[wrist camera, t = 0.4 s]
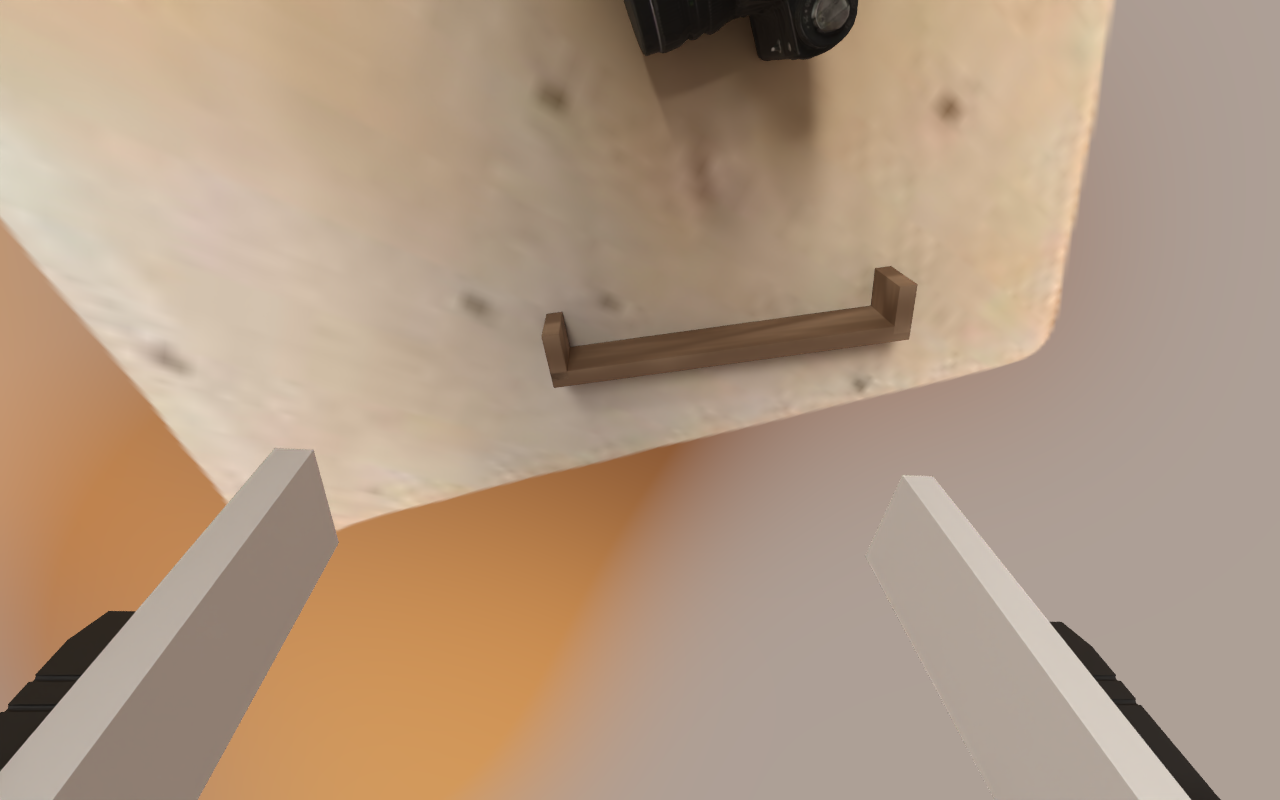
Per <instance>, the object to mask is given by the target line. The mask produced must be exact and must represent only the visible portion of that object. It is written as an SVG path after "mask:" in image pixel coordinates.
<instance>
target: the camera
mask: <svg viewBox="0 0 1280 800" xmlns="http://www.w3.org/2000/svg"><path fill="white" fill-rule="evenodd" d="M624 3H625V6H626V9H627V12H628V15H629V18H630V21H631V24H632V27H633V30H634V32H635V35H636V38H637V41H638V43H639V46H640V48H641V50H642V52H643V54H644V55H645V56H648V55H651V54H654V53H657V52H660V53H667V52H669V51H671V50H673V49H675V48H678V47H680V46H681V45H682V44H683V43H684V42H685V41H686V40H688V39H689V40H695V39H697V38H698V37H700V36H701V35H702V34H703V33H705V34H713V33H715V32H716V31H718V30H719V29H720V28H721V27H722V26H724V25H725V24H726V23H727V22H729V21H731V20H732V19H735V18H738V17H746V16H749V17H750V22H751V27H752V31H753V35H754V40H755V44H756V49H757V53H758V57H759V58H760V59H762V60H764V61H770V60H781V59H791V60H796V59H803V60H804V59H810V58H812V57H815V56H817V55H820V54H822V53H825V52H826V51H828V50H830V49H832V48H833V47H834V46H835V45H837V44H838V43H839V42H840V41H842V40H843V38H844V37H845V36H846V35H847V34H848V33H849V31H850V29H851V28H852V26H853V25H854V22H855V18H856V15H857V7H858V0H624Z"/></svg>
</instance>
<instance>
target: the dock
mask: <svg viewBox="0 0 1280 800" xmlns="http://www.w3.org/2000/svg"><path fill="white" fill-rule="evenodd" d="M916 291H917V284H916V283H915V282H913V281H912V280H910V279H909V278H907V277H906V276H904V275H903V274H902V273H900V272H899V271H897V270H896V269H894V268H893V267H891V266H890V267H883V268H875V274H874V283H873V292H872V301H871V306H866V307H858V308H851V309H844V310H837V311H829V312H822V313H815V314H807V315H800V316H793V317H786V318H778V319H771V320H764V321H757V322H749V323H742V324H735V325H727V326H720V327H713V328H706V329H698V330H691V331H684V332H677V333H669V334H662V335H655V336H647V337H640V338H633V339H626V340H618V341H611V342H604V343H597V344H589V345H582V346H575V347H570V346H569V341H568V336H567V332H566V327H565V322H564V318H563V313H562V312H558V313H551V314H547V315H546V319H545V323H544V328H543V332H542V341H543V345H544V349H545V353H546V357H547V361H548V365H549V369H550V374H551V378H552V382H553V386H554V388H556V387H564V386H571V385H578V384H586V383H593V382H600V381H608V380H615V379H622V378H630V377H637V376H644V375H652V374H659V373H666V372H674V371H681V370H688V369H696V368H703V367H710V366H718V365H725V364H732V363H740V362H747V361H754V360H762V359H769V358H776V357H784V356H791V355H798V354H806V353H813V352H820V351H828V350H835V349H842V348H850V347H857V346H864V345H872V344H879V343H886V342H894V341H901V340H908V339H909V336H910V329H911V323H912V316H913V310H914V304H915V297H916Z"/></svg>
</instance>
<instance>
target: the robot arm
mask: <svg viewBox="0 0 1280 800" xmlns="http://www.w3.org/2000/svg"><path fill="white" fill-rule="evenodd" d="M338 543H339V542H338V538H337V535H336V531H335V527H334V523H333V520H332V516H331V512H330V509H329V505H328V501H327V498H326V494H325V490H324V487H323V483H322V479H321V476H320V472H319V468H318V464H317V461H316V457H315V453H314V450H306V449H283V448H274V450H273V451H272V452H271V453H270V454H269V455H268V457H267V458H266V459H265V460H264V461H263V463H262V464H261V465H260V466H259V467H258V468H257V470H256V471H255V472H254V473H253V474H252V475H251V477H250V478H249V479H248V480H247V481H246V483H245V484H244V485H243V486H242V487H241V488H240V490H239V491H238V492H237V493H236V494H235V495H234V497H233V498H232V499H231V500H230V501H229V503H228V504H227V505H226V506H225V507H224V509H223V510H222V511H221V512H220V513H219V514H218V516H217V517H216V518H215V519H214V520H213V521H212V523H211V524H210V525H209V526H208V527H207V529H206V530H205V531H204V532H203V533H202V534H201V536H200V537H199V538H198V539H197V540H196V542H195V543H194V544H193V545H192V546H191V547H190V548H189V550H188V551H187V552H186V553H185V554H184V556H183V557H182V558H181V559H180V560H179V561H178V563H177V564H176V565H175V566H174V567H173V569H172V570H171V571H170V572H169V573H168V574H167V576H166V577H165V578H164V579H163V580H162V582H161V583H160V584H159V585H158V586H157V587H156V589H155V590H154V591H153V592H152V593H151V594H150V596H149V597H148V598H147V599H146V600H145V602H144V603H143V604H142V605H141V606H140V607H139V609H138V610H137V611H108V612H107V613H105V614H104V615H102V616H101V617H100V618H98V619H97V620H95V621H94V622H93V623H91V624H90V625H88V626H87V627H86V628H84V629H83V630H81V631H80V632H78V633H77V634H76V635H74V636H73V637H71V638H70V639H68V640H67V641H66V642H65V644H64V645H63V646H62V647H61V648H60V649H59V650H58V651H57V652H56V653H55V654H54V655H53V656H52V657H51V659H50V660H49V661H48V662H47V663H46V664H45V665H44V666H43V667H42V669H40V670H39V672H38V673H37V674H36V678H35V680H34V681H33V682H28V683H27V685H26V686H25V687H24V688H23V689H22V690H21V691H20V692H19V693H18V694H17V695H16V697H14V699H13V700H12V701H11V702H10V703H9V704H8V709H7V710H6V711H5V712H1V713H0V800H198V798H199V796H200V794H201V793H202V790H203V789H204V787H205V785H206V784H207V782H208V780H209V778H210V776H211V774H212V773H213V771H214V769H215V767H216V765H217V763H218V762H219V760H220V758H221V756H222V754H223V753H224V751H225V749H226V747H227V745H228V743H229V742H230V740H231V738H232V736H233V734H234V732H235V730H236V729H237V727H238V725H239V723H240V722H241V720H242V718H243V716H244V714H245V712H246V711H247V709H248V707H249V705H250V703H251V701H252V700H253V698H254V696H255V694H256V692H257V690H258V689H259V687H260V685H261V683H262V681H263V680H264V678H265V676H266V674H267V672H268V670H269V669H270V667H271V665H272V663H273V661H274V660H275V658H276V656H277V654H278V652H279V650H280V649H281V647H282V645H283V643H284V641H285V640H286V638H287V636H288V634H289V632H290V630H291V629H292V627H293V625H294V623H295V621H296V620H297V618H298V616H299V614H300V612H301V610H302V608H303V607H304V605H305V603H306V601H307V599H308V598H309V596H310V594H311V592H312V590H313V589H314V587H315V585H316V583H317V581H318V579H319V578H320V576H321V574H322V572H323V570H324V568H325V567H326V565H327V563H328V561H329V559H330V558H331V556H332V554H333V552H334V550H335V548H336V547H337V545H338ZM865 557H866V559H867V561H868V563H869V565H870V567H871V569H872V571H873V572H874V574H875V576H876V578H877V580H878V582H879V584H880V586H881V588H882V589H883V591H884V593H885V595H886V597H887V599H888V601H889V603H890V604H891V606H892V608H893V610H894V612H895V614H896V616H897V618H898V620H899V621H900V623H901V625H902V627H903V629H904V631H905V633H906V635H907V636H908V638H909V640H910V642H911V644H912V646H913V648H914V650H915V652H916V653H917V655H918V657H919V659H920V661H921V663H922V665H923V666H924V668H925V670H926V672H927V674H928V676H929V678H930V680H931V682H932V683H933V685H934V687H935V689H936V691H937V693H938V695H939V697H940V698H941V700H942V702H943V704H944V706H945V708H946V710H947V711H948V713H949V715H950V717H951V719H952V721H953V723H954V725H955V727H956V729H957V730H958V732H959V734H960V736H961V738H962V740H963V742H964V744H965V746H966V747H967V749H968V751H969V753H970V755H971V757H972V759H973V761H974V762H975V764H976V766H977V768H978V770H979V772H980V774H981V776H982V777H983V779H984V781H985V783H986V785H987V787H988V789H989V791H990V793H991V794H992V796H993V798H994V800H1220V798H1218V796H1217V795H1216V794H1215V793H1214V792H1213V790H1212V789H1211V788H1210V787H1209V786H1208V784H1207V783H1206V782H1205V781H1204V780H1203V778H1202V777H1201V776H1200V775H1199V774H1198V773H1197V771H1196V770H1195V769H1194V768H1193V767H1192V766H1191V764H1190V763H1189V762H1188V761H1187V759H1186V758H1185V757H1184V756H1183V755H1182V754H1181V752H1180V751H1179V750H1178V749H1177V748H1176V746H1175V745H1174V744H1173V743H1172V742H1171V741H1170V739H1169V738H1168V737H1167V736H1166V734H1165V733H1164V732H1163V731H1162V730H1161V728H1160V727H1159V726H1158V725H1157V724H1156V722H1155V721H1154V720H1153V719H1152V718H1151V716H1150V715H1149V714H1148V713H1147V712H1146V711H1145V710H1144V708H1143V707H1142V706H1141V705H1138V704H1136V701H1135V700H1136V699H1135V697H1134V696H1133V695H1132V694H1131V693H1130V691H1129V690H1128V689H1127V688H1126V687H1125V686H1124V684H1123V683H1122V682H1121V681H1117V680H1116V678H1115V676H1116V675H1115V674H1114V672H1113V671H1112V670H1111V669H1110V668H1109V666H1108V665H1107V664H1106V663H1105V662H1104V660H1103V659H1102V658H1101V657H1100V656H1099V654H1098V653H1097V652H1096V651H1095V650H1094V648H1093V647H1092V646H1091V645H1089V644H1088V643H1087V642H1086V641H1084V640H1083V639H1082V638H1081V637H1080V636H1078V635H1077V634H1076V633H1075V632H1073V631H1072V630H1071V629H1070V628H1068V627H1067V626H1066V625H1065V624H1064V623H1062V622H1049V621H1048V620H1047V619H1046V617H1045V616H1044V615H1043V614H1042V613H1041V611H1040V610H1039V609H1038V607H1037V606H1036V605H1035V604H1034V602H1033V601H1032V600H1031V599H1030V597H1029V596H1028V595H1027V594H1026V592H1025V591H1024V590H1023V589H1022V588H1021V586H1020V585H1019V584H1018V582H1017V581H1016V580H1015V579H1014V577H1013V576H1012V575H1011V574H1010V572H1009V571H1008V570H1007V569H1006V567H1005V566H1004V565H1003V564H1002V562H1001V561H1000V560H999V558H998V557H997V556H996V555H995V553H994V552H993V551H992V550H991V549H990V547H989V546H988V545H987V543H985V541H984V540H983V539H982V537H981V536H980V535H979V533H978V532H977V531H976V530H975V528H974V527H973V526H972V525H971V524H970V522H969V521H968V520H967V518H966V517H965V516H964V515H963V513H962V512H961V511H960V510H959V508H958V507H957V506H956V505H955V504H954V502H953V501H952V500H951V499H950V497H949V496H948V495H947V493H946V492H945V491H944V490H943V488H942V487H941V486H940V485H939V483H938V482H937V481H936V480H935V478H934V477H933V476H911V475H902V477H901V480H900V482H899V484H898V486H897V488H896V490H895V492H894V495H893V497H892V499H891V501H890V503H889V505H888V507H887V510H886V512H885V514H884V516H883V518H882V521H881V523H880V525H879V527H878V529H877V531H876V533H875V536H874V538H873V540H872V542H871V544H870V546H869V548H868V551H867V553H866V555H865Z"/></svg>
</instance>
